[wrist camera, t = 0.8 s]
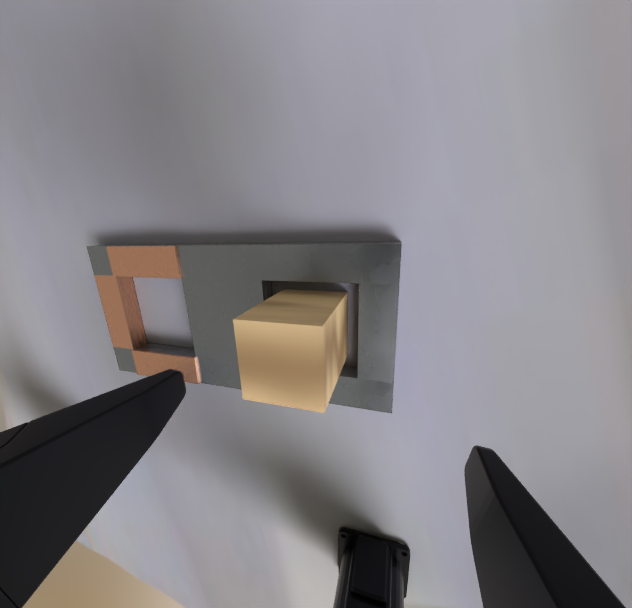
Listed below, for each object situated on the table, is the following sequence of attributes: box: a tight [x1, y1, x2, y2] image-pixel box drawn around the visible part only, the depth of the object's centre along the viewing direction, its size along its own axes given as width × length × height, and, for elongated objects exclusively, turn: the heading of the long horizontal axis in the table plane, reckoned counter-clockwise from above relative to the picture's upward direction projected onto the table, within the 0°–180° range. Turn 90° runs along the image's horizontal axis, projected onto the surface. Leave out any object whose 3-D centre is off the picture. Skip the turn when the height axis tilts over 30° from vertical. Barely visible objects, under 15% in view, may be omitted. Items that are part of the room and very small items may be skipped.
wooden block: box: [233, 289, 348, 413], centre depth 18 cm, size 5×5×7 cm
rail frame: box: [87, 242, 401, 413], centre depth 22 cm, size 12×26×2 cm, turn 92°
